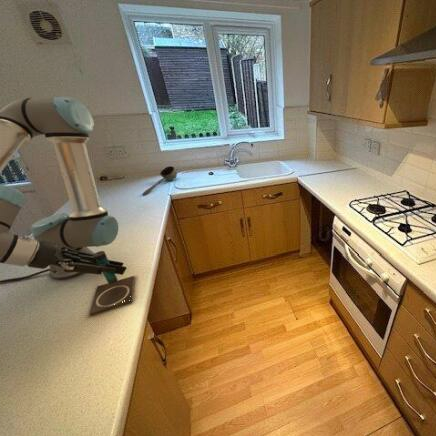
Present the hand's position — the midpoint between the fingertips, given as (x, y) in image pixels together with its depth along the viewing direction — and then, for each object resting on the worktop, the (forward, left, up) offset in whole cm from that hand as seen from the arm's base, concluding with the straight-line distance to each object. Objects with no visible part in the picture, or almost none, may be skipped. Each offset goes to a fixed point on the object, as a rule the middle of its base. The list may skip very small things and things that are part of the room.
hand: (122, 268), depth 84 cm
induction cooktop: (-5, -1, -10) cm, 11 cm away
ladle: (+12, +116, -10) cm, 117 cm away
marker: (-4, -1, -3) cm, 5 cm away
